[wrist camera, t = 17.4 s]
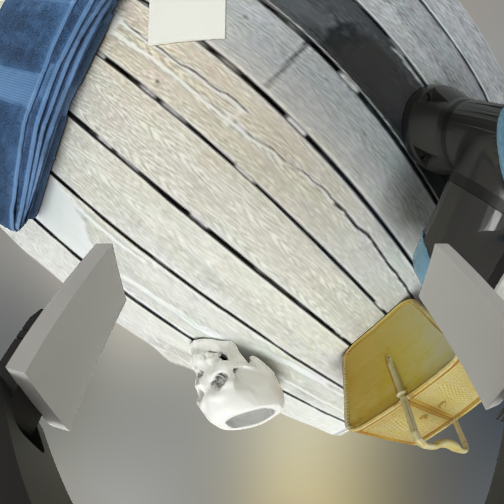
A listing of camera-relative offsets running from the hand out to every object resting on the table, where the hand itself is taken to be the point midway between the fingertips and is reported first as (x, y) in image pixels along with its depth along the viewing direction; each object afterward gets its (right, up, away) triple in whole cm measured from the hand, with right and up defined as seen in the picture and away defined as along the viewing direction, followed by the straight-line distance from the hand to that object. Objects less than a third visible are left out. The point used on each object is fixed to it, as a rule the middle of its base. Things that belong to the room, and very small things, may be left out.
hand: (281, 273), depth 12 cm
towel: (-39, +28, +24) cm, 54 cm away
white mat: (-10, +35, +20) cm, 42 cm away
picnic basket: (+34, -21, +52) cm, 66 cm away
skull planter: (-5, -23, +52) cm, 57 cm away
